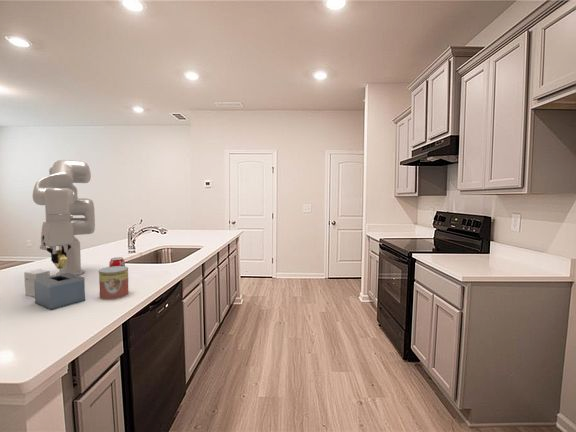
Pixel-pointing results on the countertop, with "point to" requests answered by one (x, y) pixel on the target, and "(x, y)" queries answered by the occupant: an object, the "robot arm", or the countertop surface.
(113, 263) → the soda can
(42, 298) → the grey block
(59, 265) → the golden tan rectangular block
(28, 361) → the countertop surface
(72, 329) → the countertop surface
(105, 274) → the canned food
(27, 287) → the small box
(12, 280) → the countertop surface
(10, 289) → the countertop surface
